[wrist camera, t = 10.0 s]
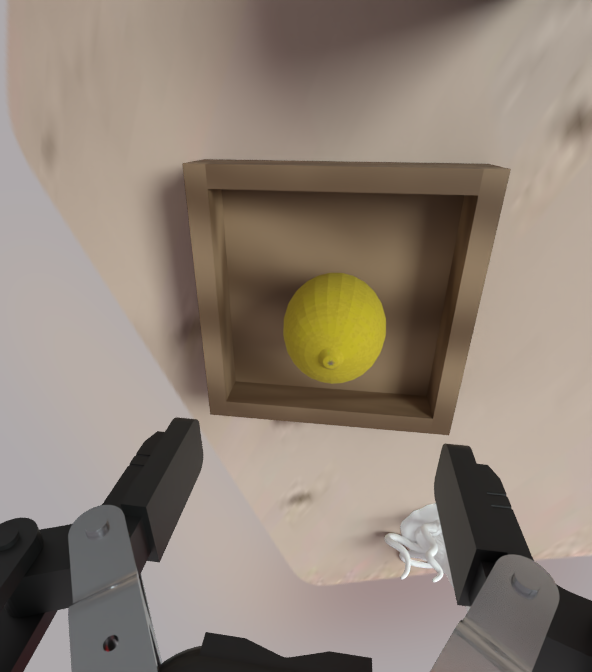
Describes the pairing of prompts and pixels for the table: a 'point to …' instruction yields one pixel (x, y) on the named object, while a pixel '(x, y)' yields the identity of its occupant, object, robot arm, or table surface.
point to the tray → (341, 257)
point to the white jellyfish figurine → (422, 542)
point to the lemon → (334, 328)
